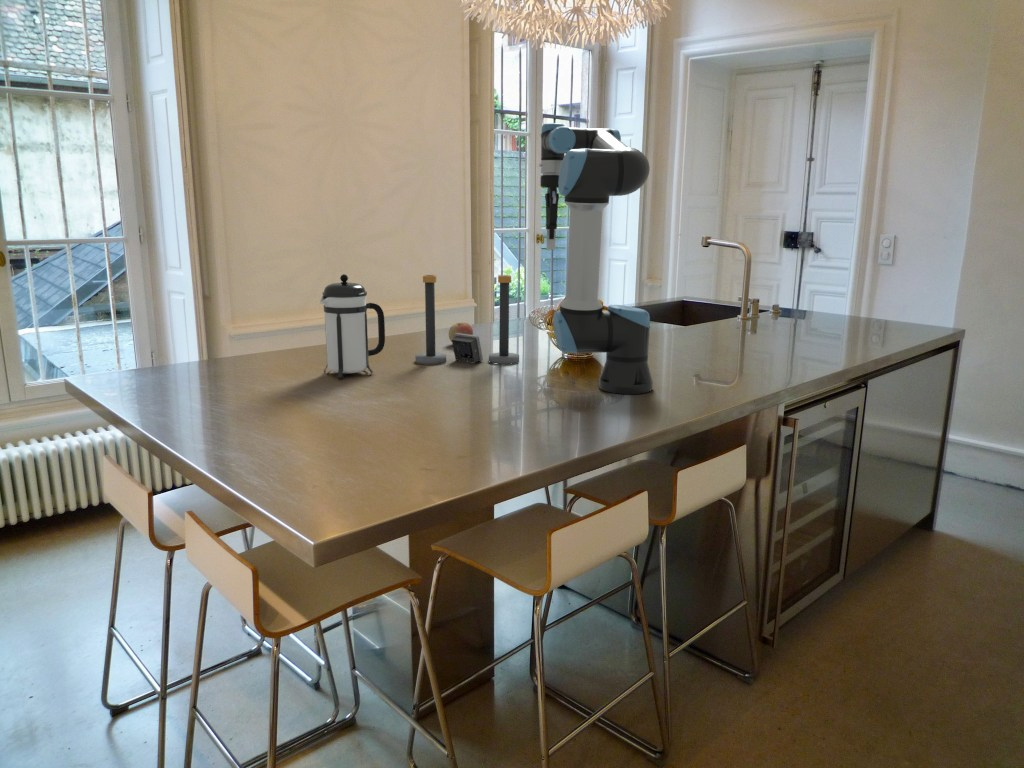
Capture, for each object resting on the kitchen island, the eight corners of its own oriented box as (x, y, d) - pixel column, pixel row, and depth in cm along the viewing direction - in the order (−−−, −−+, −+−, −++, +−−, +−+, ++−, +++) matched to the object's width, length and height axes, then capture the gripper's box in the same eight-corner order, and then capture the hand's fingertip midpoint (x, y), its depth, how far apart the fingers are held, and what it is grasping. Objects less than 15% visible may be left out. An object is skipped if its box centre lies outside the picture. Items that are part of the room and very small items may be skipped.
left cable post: (445, 364, 243) (444, 277, 237) (414, 364, 243) (412, 277, 236) (446, 358, 253) (445, 274, 246) (416, 358, 253) (414, 273, 246)
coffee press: (365, 381, 220) (361, 277, 213) (314, 378, 223) (308, 276, 216) (386, 368, 237) (383, 272, 230) (338, 366, 240) (334, 270, 233)
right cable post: (520, 364, 245) (521, 277, 238) (489, 364, 244) (489, 277, 238) (518, 358, 254) (519, 274, 248) (488, 358, 254) (488, 274, 247)
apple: (474, 343, 280) (474, 321, 278) (470, 347, 271) (470, 325, 270) (451, 342, 281) (450, 321, 279) (446, 347, 272) (446, 325, 270)
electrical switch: (483, 362, 249) (481, 334, 246) (474, 366, 244) (472, 338, 242) (460, 358, 253) (458, 331, 251) (451, 362, 249) (449, 335, 246)
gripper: (538, 175, 248) (537, 248, 254) (543, 173, 236) (541, 250, 241) (561, 175, 249) (559, 248, 254) (567, 174, 236) (565, 250, 242)
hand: (550, 249), depth 248 cm, fingers closed
